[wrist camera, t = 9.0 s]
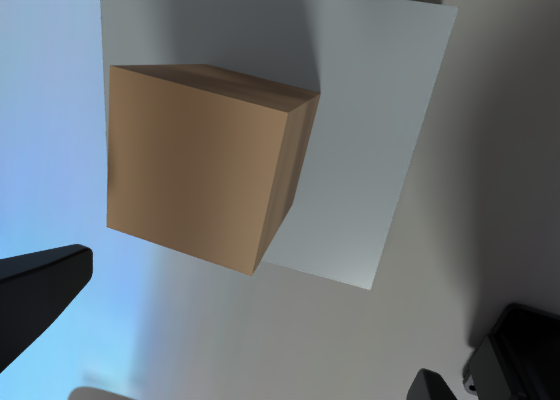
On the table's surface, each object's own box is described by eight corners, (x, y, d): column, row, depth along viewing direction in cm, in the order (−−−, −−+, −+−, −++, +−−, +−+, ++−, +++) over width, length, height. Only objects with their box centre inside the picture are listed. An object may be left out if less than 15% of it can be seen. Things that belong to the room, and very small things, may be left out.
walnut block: (320, 93, 14) (288, 112, 9) (292, 204, 16) (251, 275, 11) (205, 63, 15) (109, 65, 10) (192, 173, 17) (106, 226, 12)
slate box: (439, 18, 16) (458, 7, 12) (370, 249, 21) (370, 290, 17) (153, -23, 18) (98, -43, 14) (151, 193, 23) (109, 219, 19)
